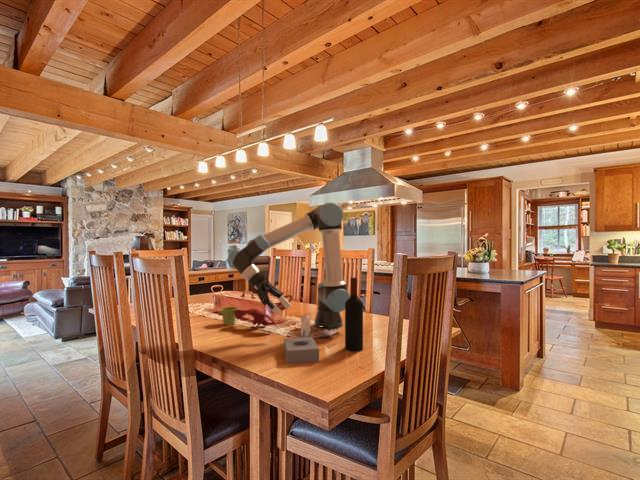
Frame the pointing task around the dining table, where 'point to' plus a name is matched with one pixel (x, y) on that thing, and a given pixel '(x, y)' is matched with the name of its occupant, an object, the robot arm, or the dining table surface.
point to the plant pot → (228, 315)
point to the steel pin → (305, 326)
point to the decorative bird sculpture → (254, 316)
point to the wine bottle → (354, 320)
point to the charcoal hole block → (301, 350)
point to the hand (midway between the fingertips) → (284, 310)
